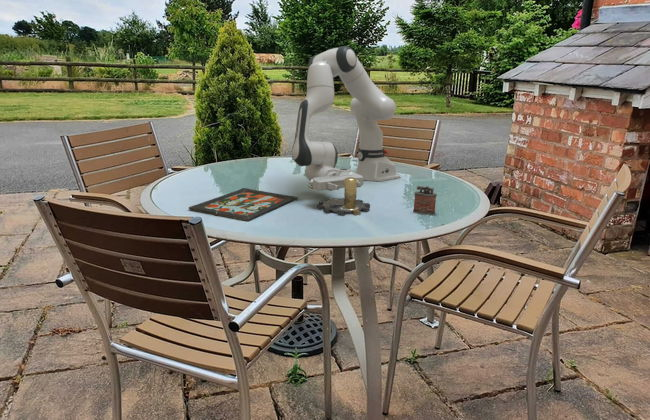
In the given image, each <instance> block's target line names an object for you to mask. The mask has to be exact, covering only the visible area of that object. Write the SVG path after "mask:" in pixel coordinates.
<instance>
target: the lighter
mask: <svg viewBox="0 0 650 420" xmlns="http://www.w3.org/2000/svg"><path fill="white" fill-rule="evenodd" d="M416 190H418V191H414V202H413V209H412V210H413V213H416V214H422V215H436V201H437V193H436V192H434V191H435V190H434V187H430V186H428V185H426V186H424V185H417V186H416Z"/></svg>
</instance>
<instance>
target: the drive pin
mask: <svg viewBox="0 0 650 420" xmlns="http://www.w3.org/2000/svg"><path fill="white" fill-rule="evenodd" d="M357 188H358V187H357V178H353V177H347V178H345V188H344V193H343V194H344V197H343V198H344V208H345V209H355V208H356V200H357Z"/></svg>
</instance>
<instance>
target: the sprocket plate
mask: <svg viewBox="0 0 650 420" xmlns="http://www.w3.org/2000/svg"><path fill="white" fill-rule="evenodd" d="M316 207H317V210H318V211H319V210H323V211H322V212H323V213H325V214H331V213H332V214H337V216H341V217H342V216H343V217H344V216H345V215H353V216H358V215H359V216H360V215H361V214H362V212H363V213H368V212H369V211H371V204H370V203H369V202H364V200H362V199H356V208H355V209H345V208H344V197H343V198H339V199H336V198H334V197H332V198H328V200H327V201H326V200H320V201H319V202H318V204H317V205H316Z"/></svg>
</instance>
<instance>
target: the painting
mask: <svg viewBox="0 0 650 420" xmlns="http://www.w3.org/2000/svg"><path fill="white" fill-rule="evenodd" d="M297 200H298V196H295V195H294V196H293V195H287V194H282V193H275V192H271V191H264V190H259V189H252V188H247V187H242V188H240V189H238V190H235V191H232V192H229V193H226V194H224V195H221V196H218V197H215V198H212V199H209V200H206V201H203V202H200V203H198V204H197V203H196V204H195V205H190V206H188V207H187V208H188V209H189V211H195V212H198V213H203V214H210V215H213V216H215V217H218V216H219V217H225V218H229V219H234V220H239V221H244V222H248V221H252V220H254V219H256V218H259V217H260V216H263V215H265V214H268V213H271V212H273V211H276V210H278V209H280V208H282V207H284V206H286V205H289V204H291V203H293V202H295V201H297Z"/></svg>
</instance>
